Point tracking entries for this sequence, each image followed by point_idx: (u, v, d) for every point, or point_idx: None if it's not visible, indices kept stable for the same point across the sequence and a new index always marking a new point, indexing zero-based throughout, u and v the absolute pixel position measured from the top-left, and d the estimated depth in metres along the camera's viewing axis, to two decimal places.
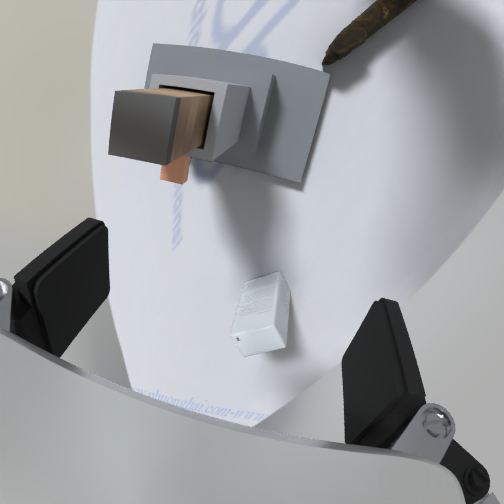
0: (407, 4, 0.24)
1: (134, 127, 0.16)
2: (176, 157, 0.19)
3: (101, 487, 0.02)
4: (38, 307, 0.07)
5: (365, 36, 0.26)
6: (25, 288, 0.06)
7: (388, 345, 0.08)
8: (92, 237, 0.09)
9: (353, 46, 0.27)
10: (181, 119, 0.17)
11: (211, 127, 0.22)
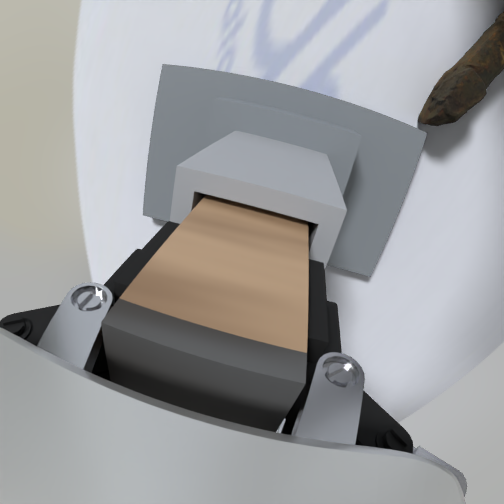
0: None
1: None
2: None
3: (101, 487, 0.02)
4: None
5: (485, 91, 0.16)
6: None
7: None
8: None
9: (471, 106, 0.17)
10: None
11: None
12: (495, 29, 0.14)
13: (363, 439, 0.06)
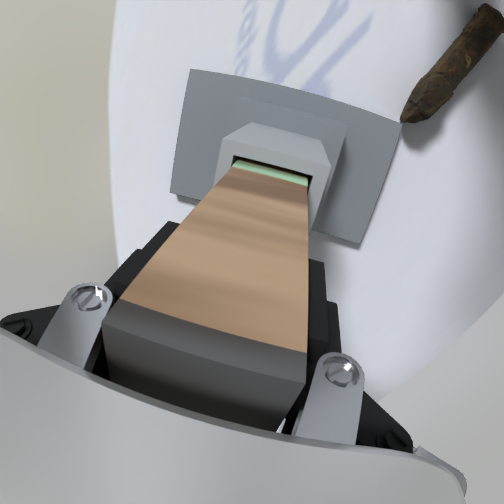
0: (487, 49, 0.20)
1: None
2: None
3: (101, 487, 0.02)
4: None
5: (452, 92, 0.22)
6: None
7: None
8: None
9: (441, 105, 0.23)
10: None
11: None
12: (461, 39, 0.20)
13: (363, 439, 0.06)
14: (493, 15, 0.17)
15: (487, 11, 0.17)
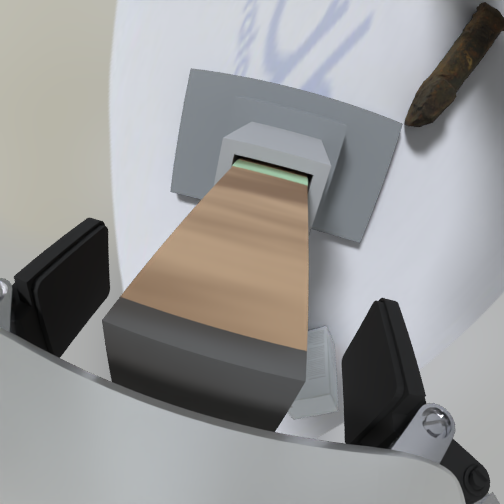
0: (487, 49, 0.20)
1: (177, 405, 0.07)
2: None
3: (101, 487, 0.02)
4: (38, 307, 0.07)
5: (455, 94, 0.23)
6: (25, 288, 0.06)
7: (388, 345, 0.08)
8: (92, 237, 0.09)
9: (444, 108, 0.23)
10: None
11: None
12: (462, 40, 0.20)
13: None
14: (492, 14, 0.17)
15: (486, 10, 0.17)
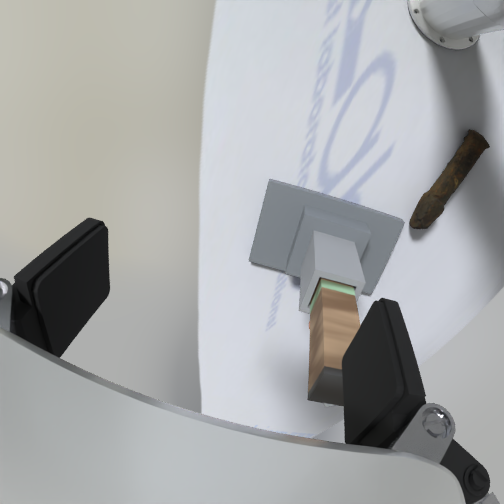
0: (470, 169, 0.38)
1: (333, 391, 0.24)
2: None
3: (101, 487, 0.02)
4: (38, 307, 0.07)
5: (443, 209, 0.41)
6: (25, 288, 0.06)
7: (388, 345, 0.08)
8: (92, 237, 0.09)
9: (435, 219, 0.41)
10: None
11: None
12: (453, 165, 0.38)
13: None
14: (478, 141, 0.35)
15: (474, 138, 0.35)
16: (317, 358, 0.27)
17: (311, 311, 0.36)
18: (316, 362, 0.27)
